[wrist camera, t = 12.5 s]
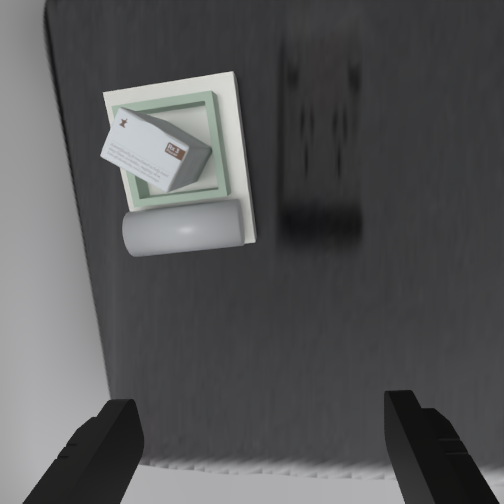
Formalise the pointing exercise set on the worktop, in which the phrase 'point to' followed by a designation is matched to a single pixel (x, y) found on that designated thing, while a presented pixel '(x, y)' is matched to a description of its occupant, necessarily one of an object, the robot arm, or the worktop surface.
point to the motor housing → (205, 210)
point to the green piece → (212, 108)
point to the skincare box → (155, 150)
